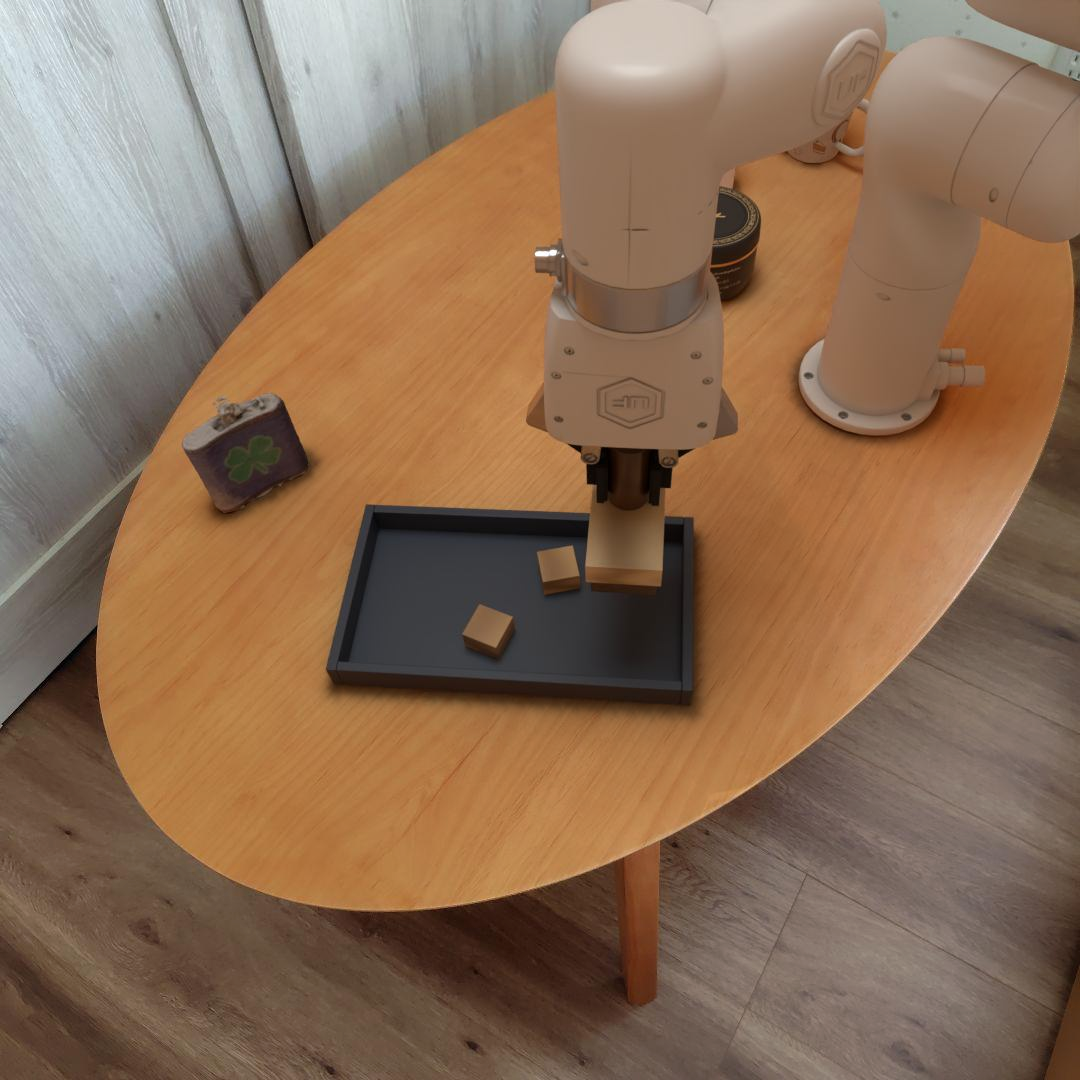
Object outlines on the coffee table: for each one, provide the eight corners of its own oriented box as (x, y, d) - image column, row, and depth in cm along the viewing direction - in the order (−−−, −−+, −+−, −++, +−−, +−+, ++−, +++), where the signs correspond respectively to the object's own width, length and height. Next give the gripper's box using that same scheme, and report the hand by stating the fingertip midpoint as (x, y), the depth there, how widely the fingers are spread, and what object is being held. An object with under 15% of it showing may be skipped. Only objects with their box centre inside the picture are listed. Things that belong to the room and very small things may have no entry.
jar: (764, 301, 95) (775, 239, 89) (668, 316, 95) (672, 255, 89) (738, 239, 101) (746, 176, 95) (646, 253, 101) (649, 191, 94)
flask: (223, 518, 84) (178, 440, 75) (210, 498, 86) (164, 419, 77) (315, 468, 87) (281, 387, 78) (300, 449, 88) (266, 368, 80)
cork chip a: (573, 558, 79) (572, 545, 77) (580, 588, 77) (579, 575, 75) (538, 564, 78) (536, 551, 77) (544, 595, 77) (542, 582, 75)
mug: (806, 118, 112) (821, 35, 104) (894, 161, 107) (918, 76, 99) (760, 149, 110) (772, 66, 101) (849, 195, 104) (869, 110, 96)
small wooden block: (515, 629, 75) (513, 616, 73) (498, 659, 74) (495, 648, 72) (482, 615, 76) (479, 603, 74) (464, 646, 75) (461, 634, 73)
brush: (665, 460, 70) (672, 369, 62) (659, 598, 64) (667, 515, 56) (598, 457, 71) (597, 367, 63) (585, 594, 64) (583, 511, 56)
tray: (690, 539, 80) (693, 516, 77) (689, 709, 71) (692, 691, 68) (373, 526, 83) (365, 504, 80) (335, 688, 74) (325, 669, 71)
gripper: (470, 315, 47) (502, 526, 62) (801, 325, 46) (752, 540, 61) (490, 221, 52) (516, 440, 67) (793, 226, 50) (750, 450, 65)
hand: (628, 486), depth 64 cm, fingers closed on brush, 2 cm apart
